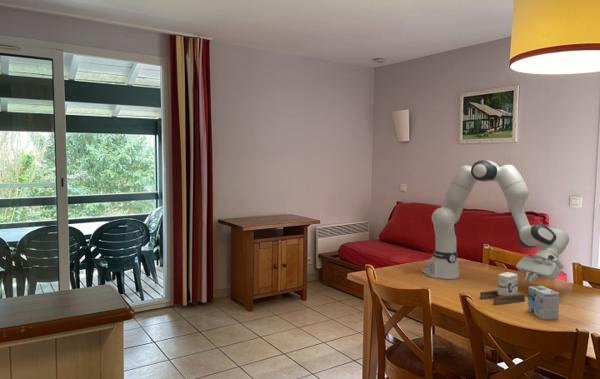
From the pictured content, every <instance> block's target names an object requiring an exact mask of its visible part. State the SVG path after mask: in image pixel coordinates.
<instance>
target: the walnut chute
mask: <svg viewBox="0 0 600 379" xmlns="http://www.w3.org/2000/svg"><path fill="white" fill-rule="evenodd" d="M479 296H480V297H479V299H480V300H488V299H489V300H490V299H493V305H495V306H499V305H501V306H502V305H507V304H513V303H515V304H516V303H522V302H525V301H526V294H524V293H517V295H510V296H502V297H498V289H494V290H487V291H486V290H485V291H480V294H479Z"/></svg>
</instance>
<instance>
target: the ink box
mask: <svg viewBox="0 0 600 379" xmlns="http://www.w3.org/2000/svg"><path fill="white" fill-rule="evenodd" d="M518 282H519V275H518V273H514V272H510V271H507V272H503V273H499V274H497V290H498V297H502V296H510V295H518V284H519V283H518Z"/></svg>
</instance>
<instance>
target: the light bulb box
mask: <svg viewBox="0 0 600 379" xmlns="http://www.w3.org/2000/svg"><path fill="white" fill-rule="evenodd" d="M559 308H560V293H559V292H558V291H555V290H552V289H551V288H548V287H546V286H544V285H536V286H535V285H532V286H528V291H527V312H529V313H531V314H533V315H535V316H536V317H538V318H539V319H542V320H546V321H547V320H559V312H560V311H559V310H560V309H559Z"/></svg>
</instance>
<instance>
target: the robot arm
mask: <svg viewBox="0 0 600 379" xmlns="http://www.w3.org/2000/svg"><path fill="white" fill-rule="evenodd" d="M478 181H480V182H485V183H486V182H488V183H489V182H494V181H495V182H496V183H497V184H498V185H499V186H500V190H501V192H502V193H503V195H504V198H505V200H506V203H507V207H508V210H509V212H510V215H511V217H512V221H513V223H514V225H515V228H516V232H517V239H518V243H519V244H520V245H521V246H522V247H524V248H527V249H535V248H536V247H538V249H537V251H536V252H535V253H534V255H530V254H528V255H525V256H523V257H522V258H521V259H520V260H519V261H518V262H517V264H515V265H516V266H515V267H516V268H517V270H518V271H519V272H522V273H525V274H526V277H524V280H525V281H526V282H529V283H533V282H534V281H535V280H537V279H539V278H543V279H546V280H550V281H554V280H557V278H558V277H559V275H560V273H561V270H563V268H564V267H565V266H564V265H563V264H562V262H561V261H560V259H559V256H560V255H562V254H563V252H564V251H565V249H566V248H567V246H568V245H569V243H570V236H569V235H568V233H567V232H566V231H564V230H563V229H560V228H552V227H550V226H548V225H547V224H544V223H541V222H540V223H538V222H537V223H534V224H532V225H531V224H530V222H529V220H528V217H527V214H526V211H525V204H526V201H527V200H528V198H529V193H530V191H529V188H528V186H527V184H526V182H525V179H524V178H523V176H522V175H521V173H520V171H519V170H518V169H517V168H516V167H515V166H514V165H513V164H504V165H501V164H499V163H498V162H496V161H493V160H489V159H486V160H484V159H482V160H478V161H476V162H474V163H473V164H472V166H471V165H467V164H465V165H463V166H461V167H460V168H459V169H458V171H457V172H456V173H455V175H454V177H453V179H452V181H451V182H450V185H449V186H448V188H447V191H446V192H445V198H444V202H443V204H442V206H441V207H438V208H436V209H435V210H434V211H433V213H432V214H431V222H432V225H433V230H434V236H435V238H434V239H435V241H434V242H435V250H433V251H432V253H433V255H432V257H431V258H429V259H427V261H425V267H424V268H422V269H421V272H422V273H423V272H424V274H425V275H427V276H428V277H430V278H434V279H445V280H446V279H447V280H453V279H459V278H460V275H461V273H460V270H459V261H458V259H457V258H458V251H457V236H456V232H455V224H457V223H458V221H460V218H461V215H462V213H463V210H464V207H465V204H466V202H467V200H468V198H469V196H470V194H471V192H472V190H473V187H474V185H475V184H476V183H477V182H478Z"/></svg>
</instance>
